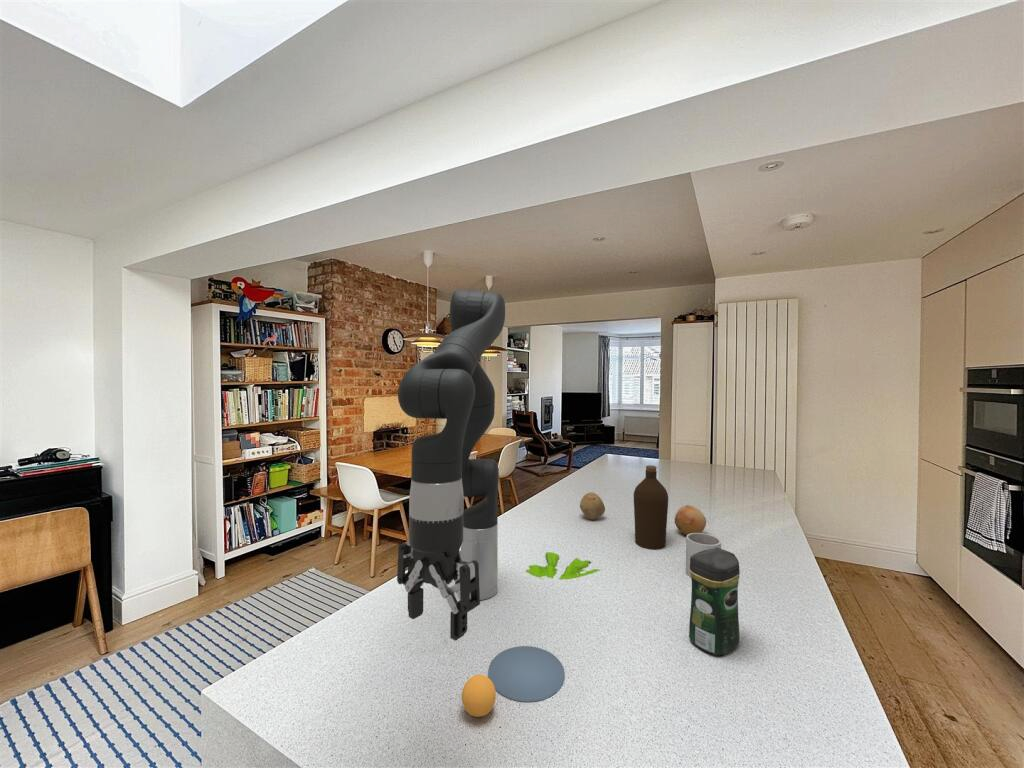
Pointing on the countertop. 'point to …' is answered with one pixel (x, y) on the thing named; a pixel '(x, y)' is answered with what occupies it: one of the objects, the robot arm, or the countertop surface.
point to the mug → (699, 545)
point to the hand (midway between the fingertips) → (435, 626)
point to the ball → (478, 695)
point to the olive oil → (650, 511)
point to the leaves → (551, 570)
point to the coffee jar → (714, 601)
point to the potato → (592, 506)
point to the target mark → (526, 674)
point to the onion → (690, 520)
